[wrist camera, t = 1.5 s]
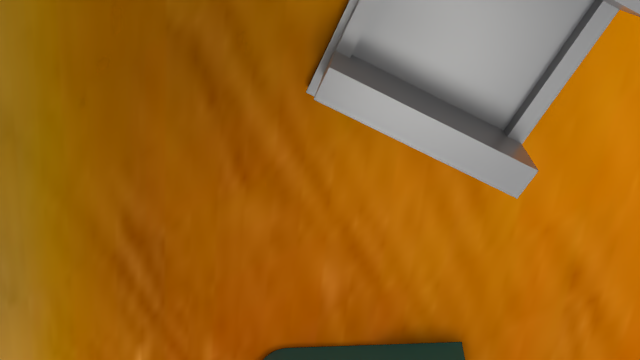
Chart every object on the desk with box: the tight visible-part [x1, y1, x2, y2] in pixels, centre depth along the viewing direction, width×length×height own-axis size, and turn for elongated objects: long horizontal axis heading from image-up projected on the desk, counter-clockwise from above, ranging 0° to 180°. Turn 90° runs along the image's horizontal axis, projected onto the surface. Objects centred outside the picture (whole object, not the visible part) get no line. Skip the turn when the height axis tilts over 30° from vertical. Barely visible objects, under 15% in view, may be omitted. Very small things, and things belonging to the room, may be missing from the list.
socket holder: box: [306, 0, 640, 198], centre depth 29 cm, size 14×16×6 cm
